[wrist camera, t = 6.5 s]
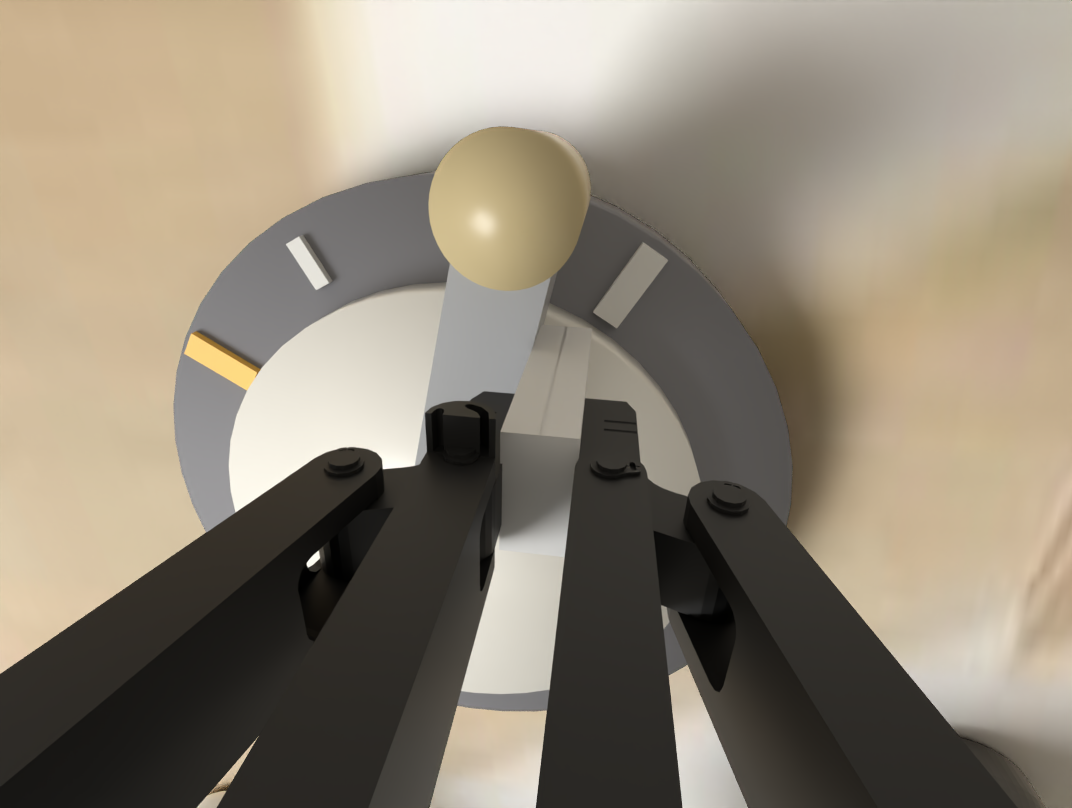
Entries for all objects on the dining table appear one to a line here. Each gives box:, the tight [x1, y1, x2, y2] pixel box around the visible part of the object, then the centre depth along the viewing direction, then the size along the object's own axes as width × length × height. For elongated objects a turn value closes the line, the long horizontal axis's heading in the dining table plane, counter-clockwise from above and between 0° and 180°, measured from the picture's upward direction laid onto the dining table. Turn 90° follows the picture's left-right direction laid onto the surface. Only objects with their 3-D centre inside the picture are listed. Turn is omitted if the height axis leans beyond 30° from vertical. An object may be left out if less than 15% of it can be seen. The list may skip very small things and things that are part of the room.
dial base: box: [174, 171, 793, 711], centre depth 25 cm, size 26×26×3 cm
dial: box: [229, 127, 700, 694], centre depth 19 cm, size 24×19×7 cm
